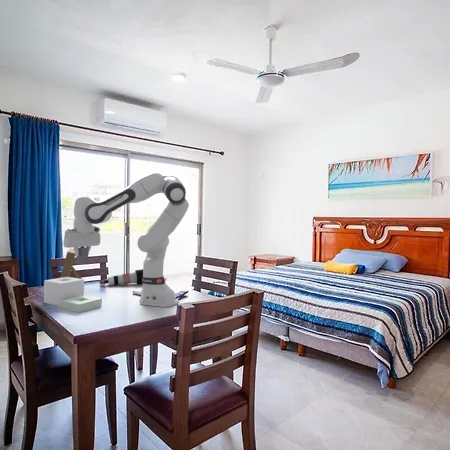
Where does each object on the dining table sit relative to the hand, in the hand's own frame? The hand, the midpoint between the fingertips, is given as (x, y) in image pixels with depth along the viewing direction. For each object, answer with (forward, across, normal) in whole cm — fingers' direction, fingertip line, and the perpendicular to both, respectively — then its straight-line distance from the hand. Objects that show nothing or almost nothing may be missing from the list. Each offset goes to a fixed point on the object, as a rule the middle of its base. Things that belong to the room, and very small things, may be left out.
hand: (82, 255), depth 174 cm
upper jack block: (+27, +2, +16) cm, 31 cm away
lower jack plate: (+27, 0, 0) cm, 27 cm away
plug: (+4, 0, 0) cm, 4 cm away
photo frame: (+27, +25, +40) cm, 54 cm away
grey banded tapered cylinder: (+27, +55, +22) cm, 65 cm away
